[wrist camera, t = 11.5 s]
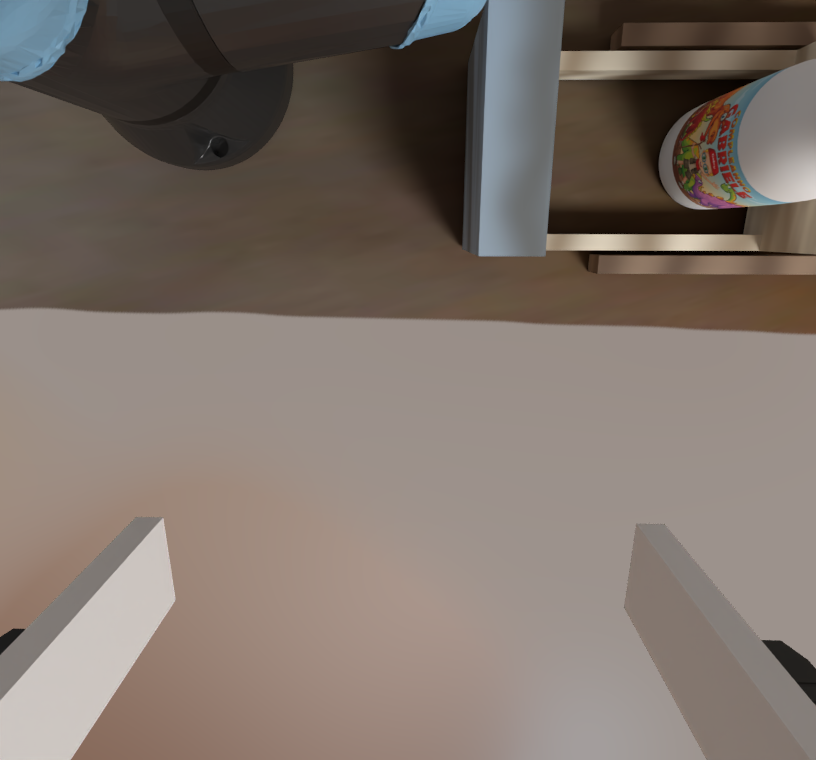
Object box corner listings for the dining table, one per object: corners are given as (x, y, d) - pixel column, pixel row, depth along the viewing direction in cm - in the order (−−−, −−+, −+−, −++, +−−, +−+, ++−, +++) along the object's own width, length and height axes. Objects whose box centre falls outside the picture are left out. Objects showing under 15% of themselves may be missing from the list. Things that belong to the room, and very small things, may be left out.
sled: (462, 248, 42) (478, 256, 31) (468, 62, 38) (489, -10, 27) (762, 249, 42) (893, 257, 30) (798, 60, 38) (964, -13, 26)
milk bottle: (731, 82, 39) (1038, -63, 20) (770, 173, 40) (1087, 123, 21) (638, 143, 40) (839, 63, 21) (680, 229, 42) (901, 229, 23)
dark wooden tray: (587, 271, 43) (597, 273, 41) (611, 35, 38) (623, 22, 36) (912, 272, 42) (940, 275, 40) (978, 33, 37) (1014, 20, 35)
